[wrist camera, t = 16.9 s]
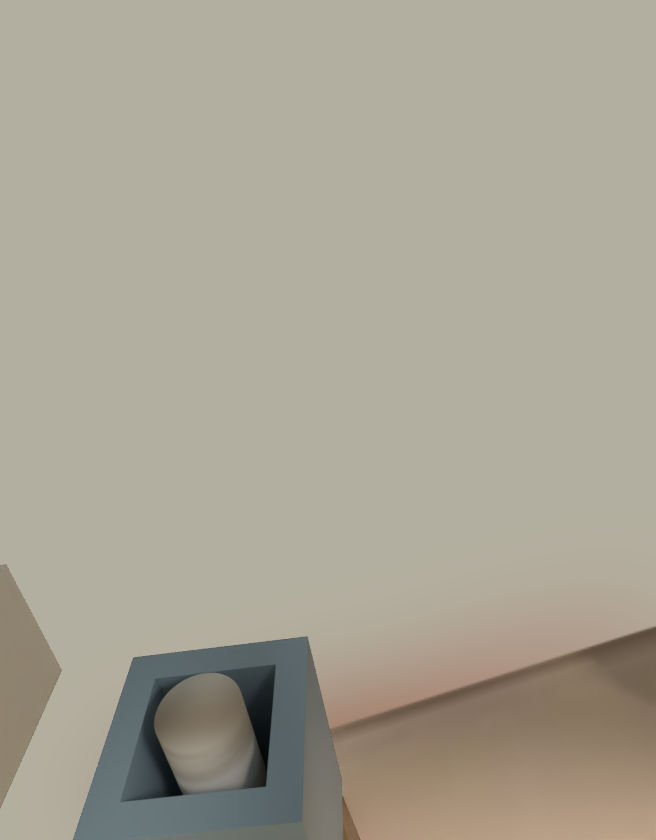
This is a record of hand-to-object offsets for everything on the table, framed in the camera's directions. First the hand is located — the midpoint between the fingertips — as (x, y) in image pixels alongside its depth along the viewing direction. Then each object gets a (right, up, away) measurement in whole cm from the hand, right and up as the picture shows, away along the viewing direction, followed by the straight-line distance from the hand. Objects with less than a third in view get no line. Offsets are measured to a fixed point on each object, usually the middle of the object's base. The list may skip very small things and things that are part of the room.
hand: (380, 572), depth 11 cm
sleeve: (-4, -20, +20) cm, 28 cm away
